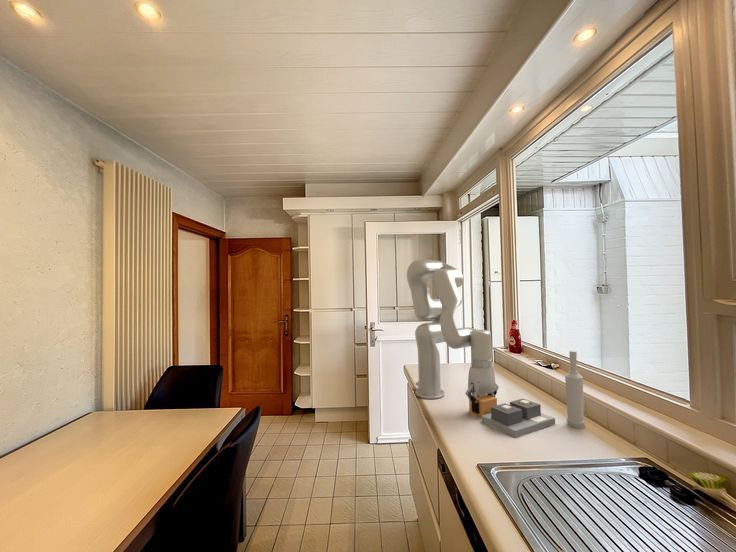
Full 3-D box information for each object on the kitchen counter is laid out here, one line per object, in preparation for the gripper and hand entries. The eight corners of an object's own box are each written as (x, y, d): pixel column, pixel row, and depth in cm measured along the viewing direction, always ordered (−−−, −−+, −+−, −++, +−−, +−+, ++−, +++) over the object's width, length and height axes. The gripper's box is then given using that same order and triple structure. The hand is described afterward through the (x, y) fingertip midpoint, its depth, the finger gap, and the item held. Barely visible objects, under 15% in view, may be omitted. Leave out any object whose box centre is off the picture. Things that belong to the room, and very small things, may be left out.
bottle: (585, 429, 107) (582, 353, 108) (566, 426, 110) (563, 352, 111) (584, 423, 112) (581, 350, 112) (566, 420, 115) (564, 349, 115)
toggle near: (501, 417, 112) (501, 406, 112) (506, 416, 113) (505, 404, 113) (507, 420, 110) (506, 408, 110) (512, 418, 111) (511, 407, 111)
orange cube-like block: (469, 412, 124) (469, 396, 124) (482, 408, 127) (482, 393, 128) (483, 418, 118) (483, 401, 118) (497, 414, 121) (496, 398, 121)
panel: (481, 421, 116) (481, 404, 116) (519, 410, 125) (519, 394, 125) (515, 437, 103) (514, 418, 103) (555, 423, 112) (554, 406, 112)
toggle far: (520, 412, 116) (519, 401, 116) (524, 411, 117) (524, 399, 118) (526, 414, 114) (525, 403, 114) (530, 413, 115) (530, 401, 115)
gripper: (490, 358, 131) (491, 403, 130) (457, 364, 123) (458, 411, 122) (505, 362, 124) (507, 409, 123) (471, 368, 116) (473, 419, 115)
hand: (483, 410), depth 123 cm, fingers closed on orange cube-like block, 7 cm apart
